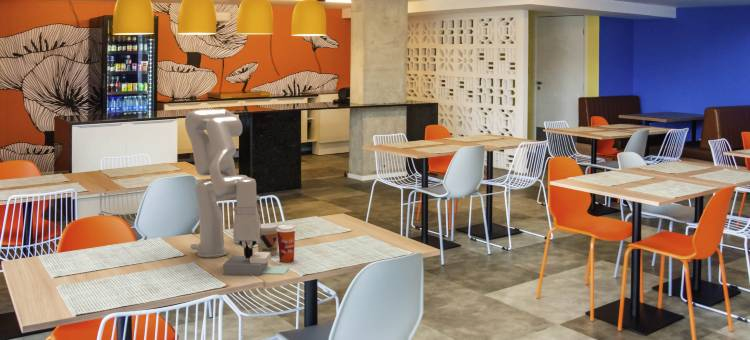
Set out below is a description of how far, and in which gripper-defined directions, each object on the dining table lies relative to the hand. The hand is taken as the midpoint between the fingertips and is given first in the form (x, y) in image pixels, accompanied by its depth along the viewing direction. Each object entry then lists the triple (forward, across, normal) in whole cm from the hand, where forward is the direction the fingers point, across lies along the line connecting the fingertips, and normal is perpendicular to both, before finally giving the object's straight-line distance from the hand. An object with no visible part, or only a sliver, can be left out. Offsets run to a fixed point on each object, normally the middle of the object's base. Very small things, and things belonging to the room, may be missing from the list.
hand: (248, 257), depth 295 cm
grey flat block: (+5, -1, 0) cm, 5 cm away
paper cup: (+5, +12, +15) cm, 19 cm away
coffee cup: (+5, +2, +25) cm, 25 cm away
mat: (+5, +10, +1) cm, 12 cm away
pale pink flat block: (+1, +4, 0) cm, 5 cm away
